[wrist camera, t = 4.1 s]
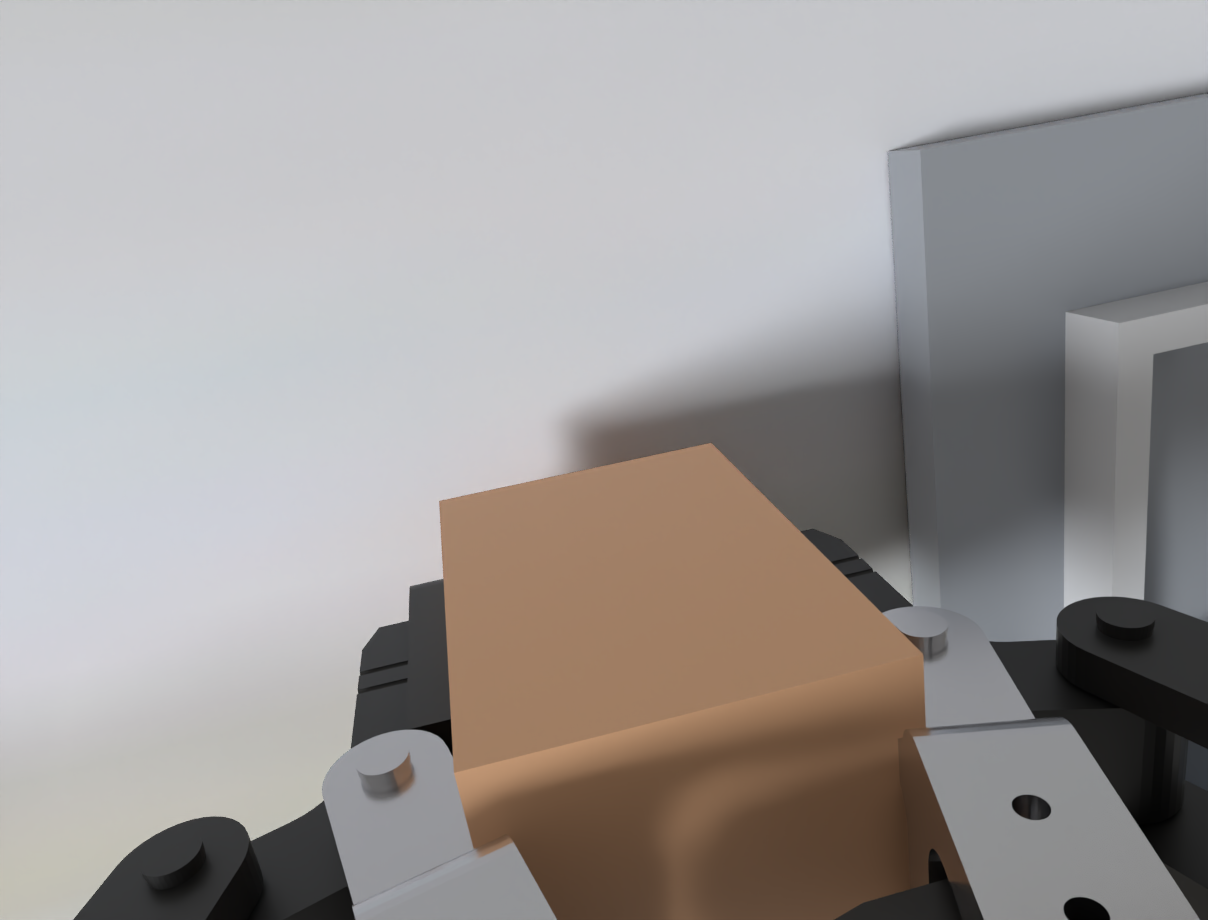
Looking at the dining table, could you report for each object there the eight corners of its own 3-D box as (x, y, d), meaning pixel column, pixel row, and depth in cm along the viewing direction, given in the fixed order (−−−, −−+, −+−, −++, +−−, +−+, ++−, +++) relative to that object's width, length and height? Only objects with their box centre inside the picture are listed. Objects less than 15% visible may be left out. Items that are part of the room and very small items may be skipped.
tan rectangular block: (438, 500, 13) (453, 773, 7) (711, 442, 13) (923, 654, 8) (494, 734, 14) (543, 1115, 9) (738, 673, 15) (934, 995, 9)
